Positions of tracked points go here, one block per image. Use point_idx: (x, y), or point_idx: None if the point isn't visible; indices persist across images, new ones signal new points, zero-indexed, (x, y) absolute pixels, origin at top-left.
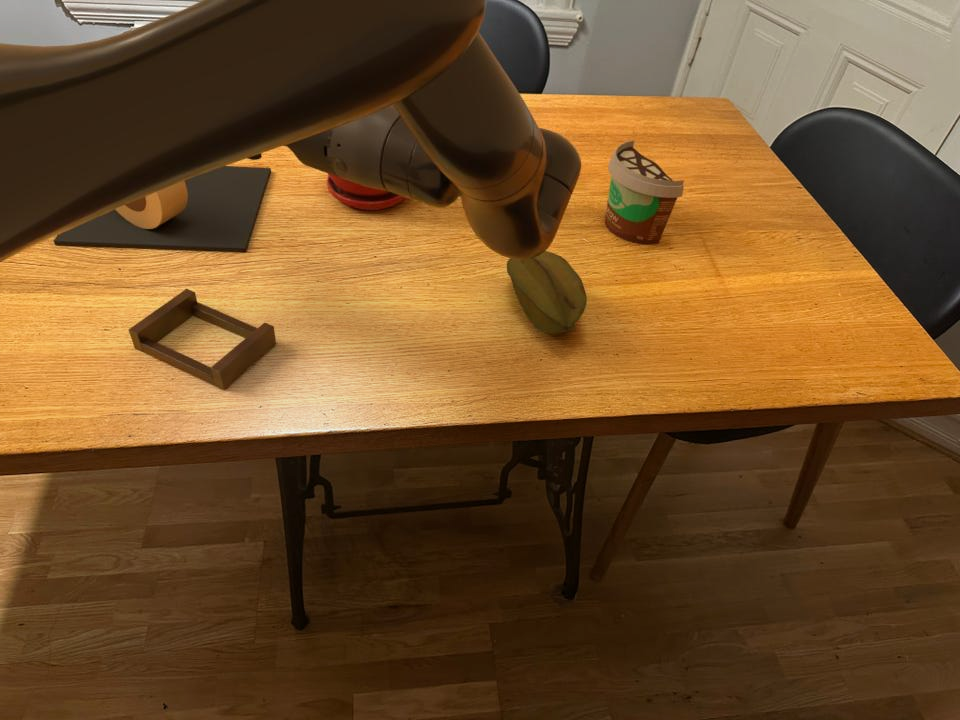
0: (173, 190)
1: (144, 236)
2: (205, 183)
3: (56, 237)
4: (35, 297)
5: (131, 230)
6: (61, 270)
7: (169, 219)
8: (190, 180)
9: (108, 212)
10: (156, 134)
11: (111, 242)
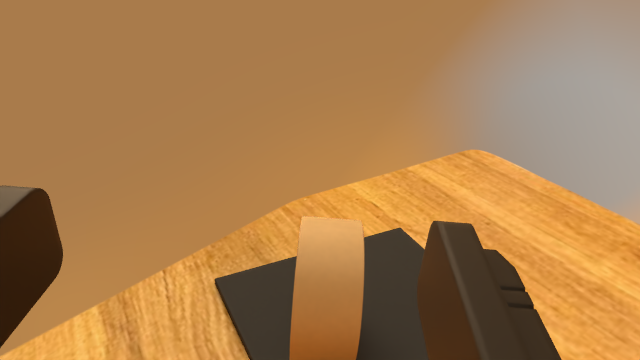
0: (327, 337)
1: (276, 357)
2: None
3: (223, 277)
4: (93, 332)
5: (281, 333)
6: (163, 320)
7: None
8: None
9: None
10: None
11: (240, 331)
